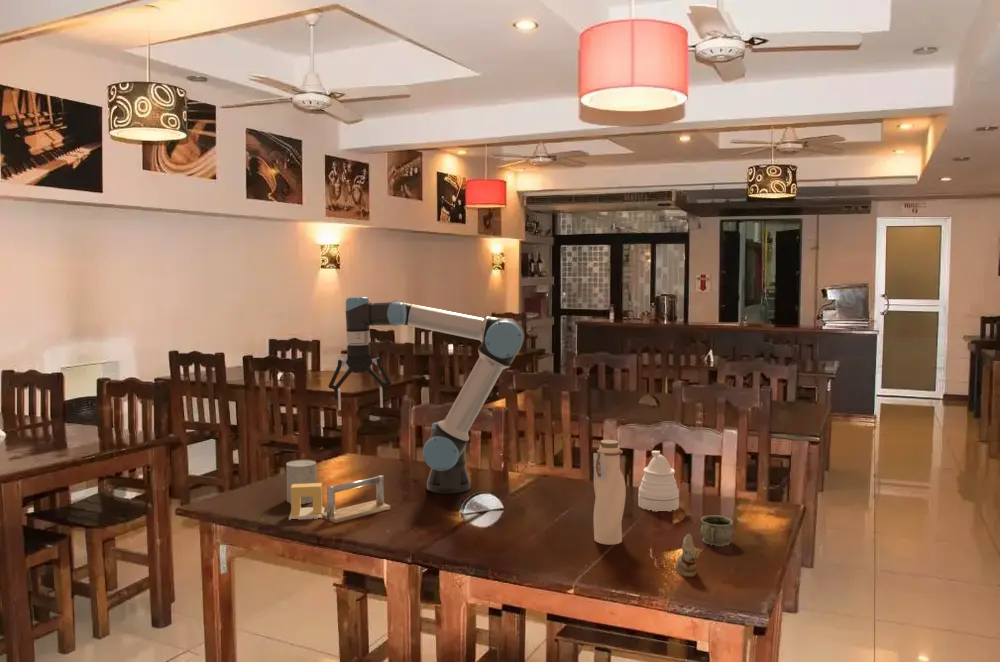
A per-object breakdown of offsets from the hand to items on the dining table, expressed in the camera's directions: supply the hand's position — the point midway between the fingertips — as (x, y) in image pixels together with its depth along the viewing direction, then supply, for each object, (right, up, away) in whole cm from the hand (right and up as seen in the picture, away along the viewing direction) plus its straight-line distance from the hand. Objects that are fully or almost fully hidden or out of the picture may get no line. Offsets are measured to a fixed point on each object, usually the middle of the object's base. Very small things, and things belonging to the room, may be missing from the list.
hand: (360, 408), depth 261 cm
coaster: (-14, -31, -16) cm, 38 cm away
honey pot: (+97, -31, -6) cm, 102 cm away
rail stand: (+1, -31, -15) cm, 35 cm away
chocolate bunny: (+93, -35, -62) cm, 117 cm away
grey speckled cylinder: (-19, -30, -1) cm, 36 cm away
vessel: (+106, -34, -40) cm, 119 cm away
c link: (-14, -31, -16) cm, 37 cm away
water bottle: (+76, -33, -40) cm, 92 cm away
